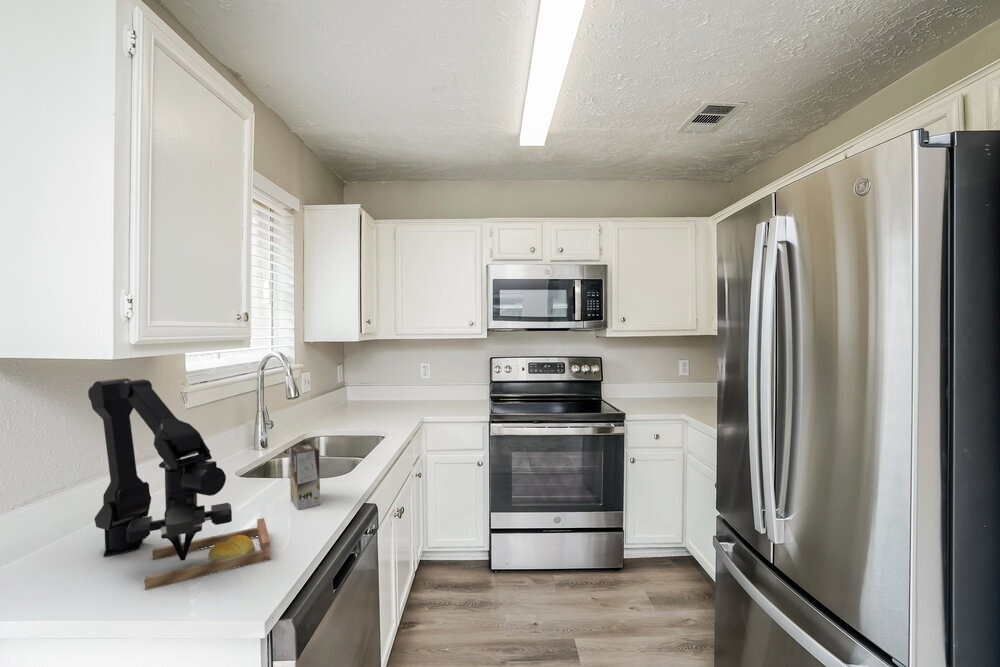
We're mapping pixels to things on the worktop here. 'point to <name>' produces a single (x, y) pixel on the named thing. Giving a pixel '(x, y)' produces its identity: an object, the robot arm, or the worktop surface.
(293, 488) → the coffee box
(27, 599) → the worktop surface
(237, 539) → the bread roll
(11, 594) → the worktop surface
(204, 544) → the guide channel
